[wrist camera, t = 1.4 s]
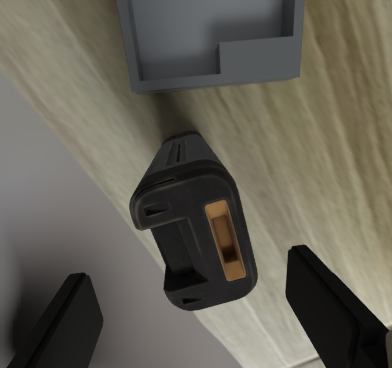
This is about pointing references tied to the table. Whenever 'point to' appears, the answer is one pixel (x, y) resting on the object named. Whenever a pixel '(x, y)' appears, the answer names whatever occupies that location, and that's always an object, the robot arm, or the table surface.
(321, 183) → the table surface
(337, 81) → the table surface
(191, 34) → the keyhole dock
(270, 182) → the table surface
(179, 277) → the electronic device
